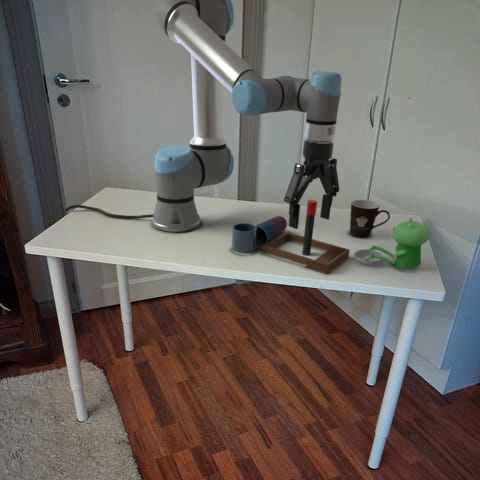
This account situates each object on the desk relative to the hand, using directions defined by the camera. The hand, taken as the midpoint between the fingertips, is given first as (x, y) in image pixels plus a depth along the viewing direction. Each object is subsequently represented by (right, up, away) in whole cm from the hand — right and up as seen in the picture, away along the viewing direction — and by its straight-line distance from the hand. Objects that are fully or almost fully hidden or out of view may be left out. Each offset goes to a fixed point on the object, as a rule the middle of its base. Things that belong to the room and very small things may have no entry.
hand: (309, 222), depth 131 cm
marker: (0, -8, +5) cm, 9 cm away
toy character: (+23, -11, +3) cm, 26 cm away
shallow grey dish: (+19, -10, +7) cm, 22 cm away
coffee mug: (+20, 0, +20) cm, 29 cm away
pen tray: (0, -8, +5) cm, 10 cm away
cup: (-6, +4, +19) cm, 20 cm away
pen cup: (-18, -7, +7) cm, 21 cm away
